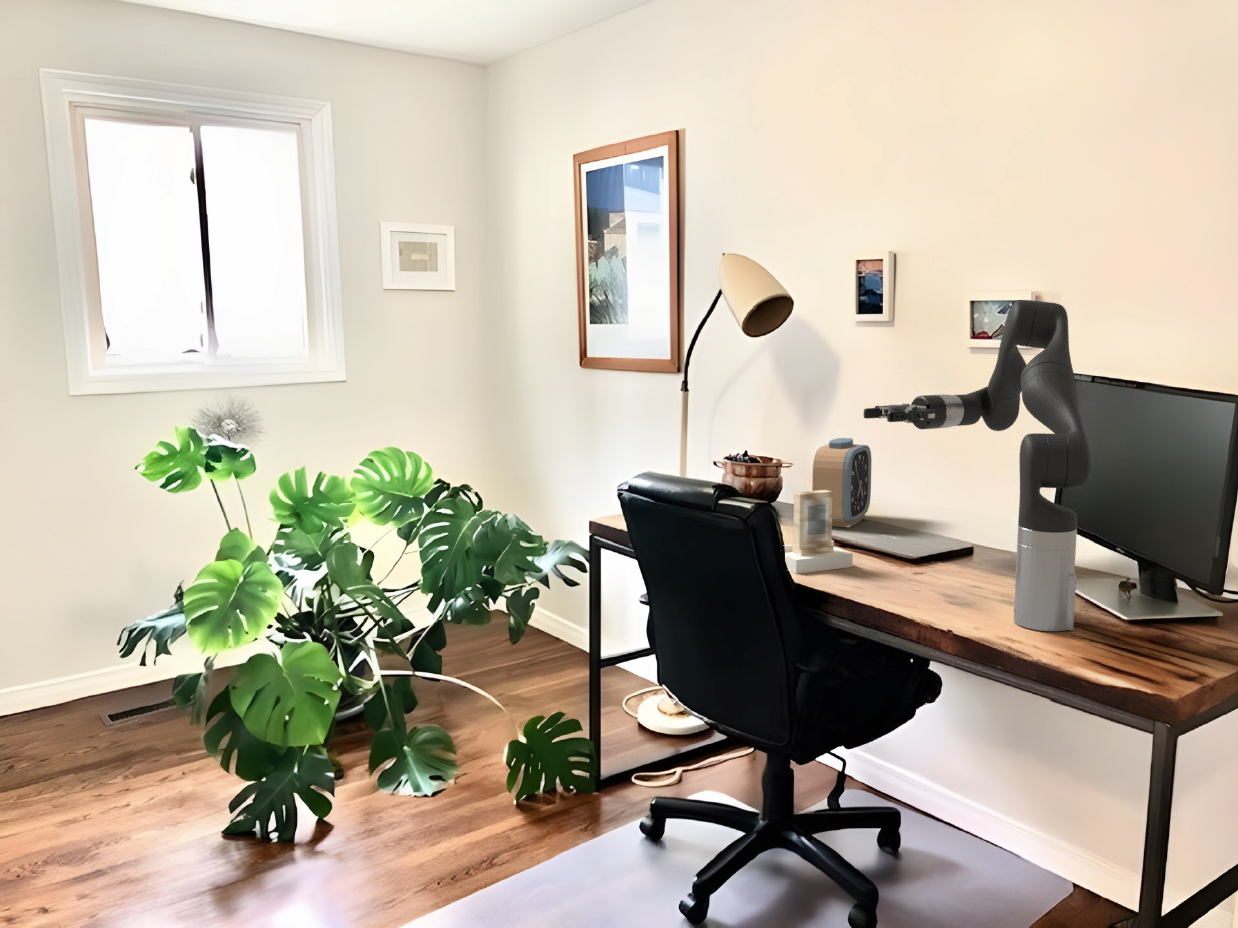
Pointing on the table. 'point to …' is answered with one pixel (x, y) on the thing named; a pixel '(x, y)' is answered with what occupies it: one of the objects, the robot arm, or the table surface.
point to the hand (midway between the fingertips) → (876, 415)
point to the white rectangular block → (818, 560)
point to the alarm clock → (844, 479)
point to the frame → (812, 522)
